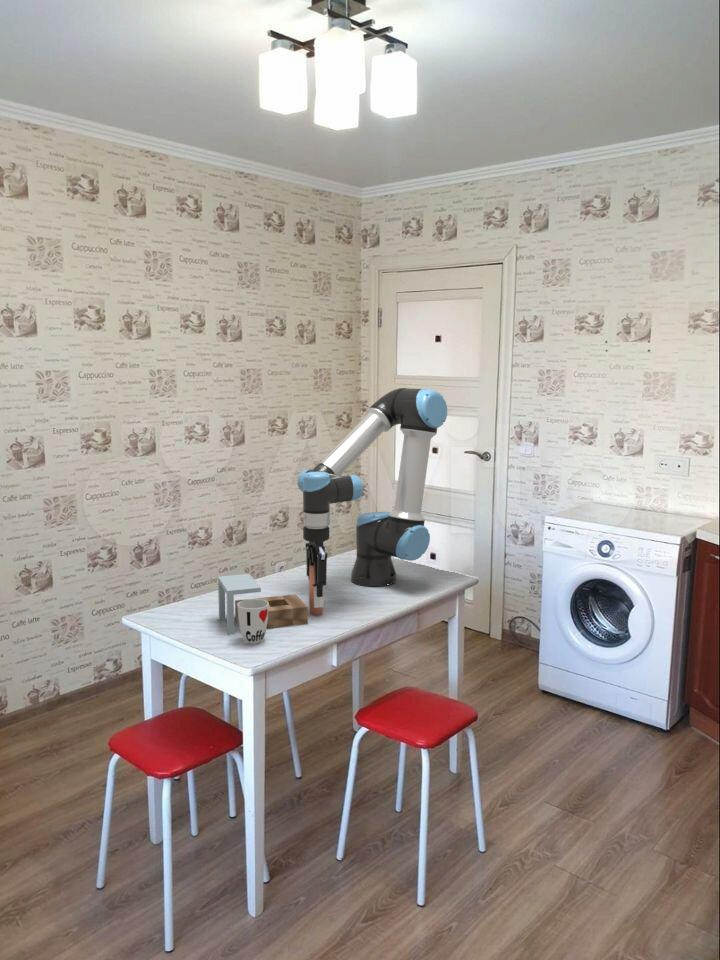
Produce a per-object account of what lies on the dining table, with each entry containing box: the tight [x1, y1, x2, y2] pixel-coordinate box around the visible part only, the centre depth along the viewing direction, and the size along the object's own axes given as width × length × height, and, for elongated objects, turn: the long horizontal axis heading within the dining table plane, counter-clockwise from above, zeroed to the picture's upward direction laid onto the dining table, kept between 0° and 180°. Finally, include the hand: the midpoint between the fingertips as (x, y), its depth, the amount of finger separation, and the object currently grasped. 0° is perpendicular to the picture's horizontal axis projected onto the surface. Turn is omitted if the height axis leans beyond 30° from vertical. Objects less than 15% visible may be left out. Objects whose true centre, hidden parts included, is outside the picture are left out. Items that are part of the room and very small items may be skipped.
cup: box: [237, 598, 269, 645], centre depth 199 cm, size 8×8×10 cm
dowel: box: [308, 565, 324, 616], centre depth 220 cm, size 4×4×14 cm
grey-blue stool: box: [217, 573, 262, 636], centre depth 210 cm, size 9×14×12 cm, turn 21°
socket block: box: [234, 593, 309, 630], centre depth 214 cm, size 18×12×5 cm, turn 111°
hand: (316, 604), depth 220 cm, fingers closed on dowel, 4 cm apart
